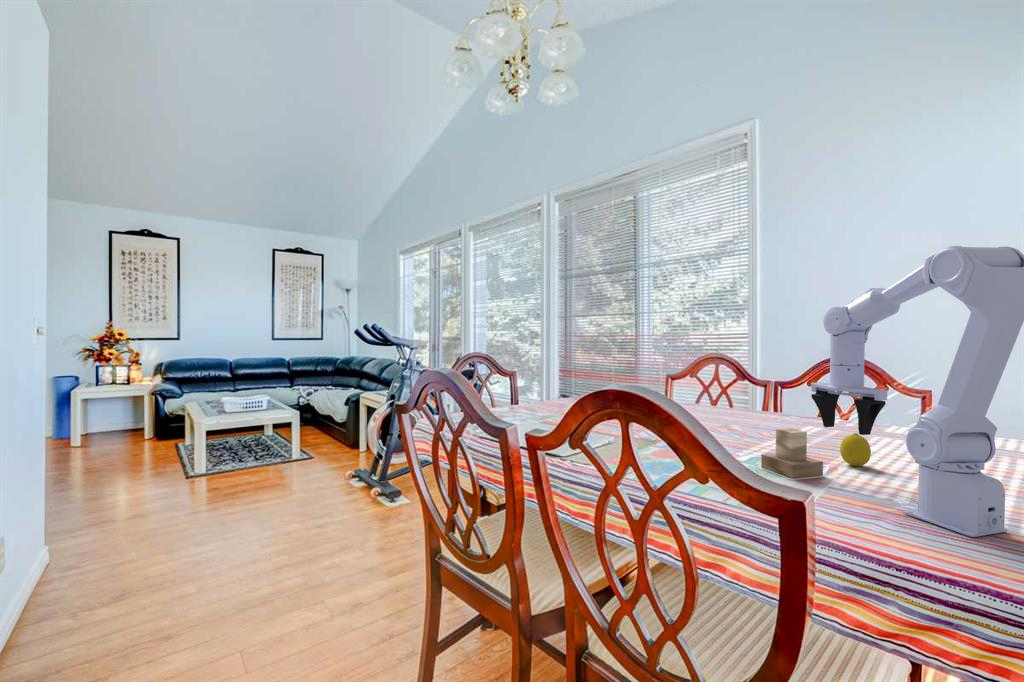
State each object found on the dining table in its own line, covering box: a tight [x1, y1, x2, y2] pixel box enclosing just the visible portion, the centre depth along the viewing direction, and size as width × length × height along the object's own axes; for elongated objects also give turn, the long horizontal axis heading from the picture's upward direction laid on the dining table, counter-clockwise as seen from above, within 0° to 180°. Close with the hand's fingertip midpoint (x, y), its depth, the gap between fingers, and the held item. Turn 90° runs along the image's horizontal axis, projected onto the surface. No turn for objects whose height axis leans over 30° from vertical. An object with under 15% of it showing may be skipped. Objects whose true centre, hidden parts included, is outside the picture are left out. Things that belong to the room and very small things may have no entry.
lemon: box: [839, 432, 872, 468], centre depth 102 cm, size 6×6×8 cm
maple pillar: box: [775, 427, 808, 461], centre depth 97 cm, size 4×4×6 cm
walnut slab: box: [760, 452, 824, 479], centre depth 97 cm, size 8×8×3 cm
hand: (846, 430), depth 93 cm, fingers open, 7 cm apart
